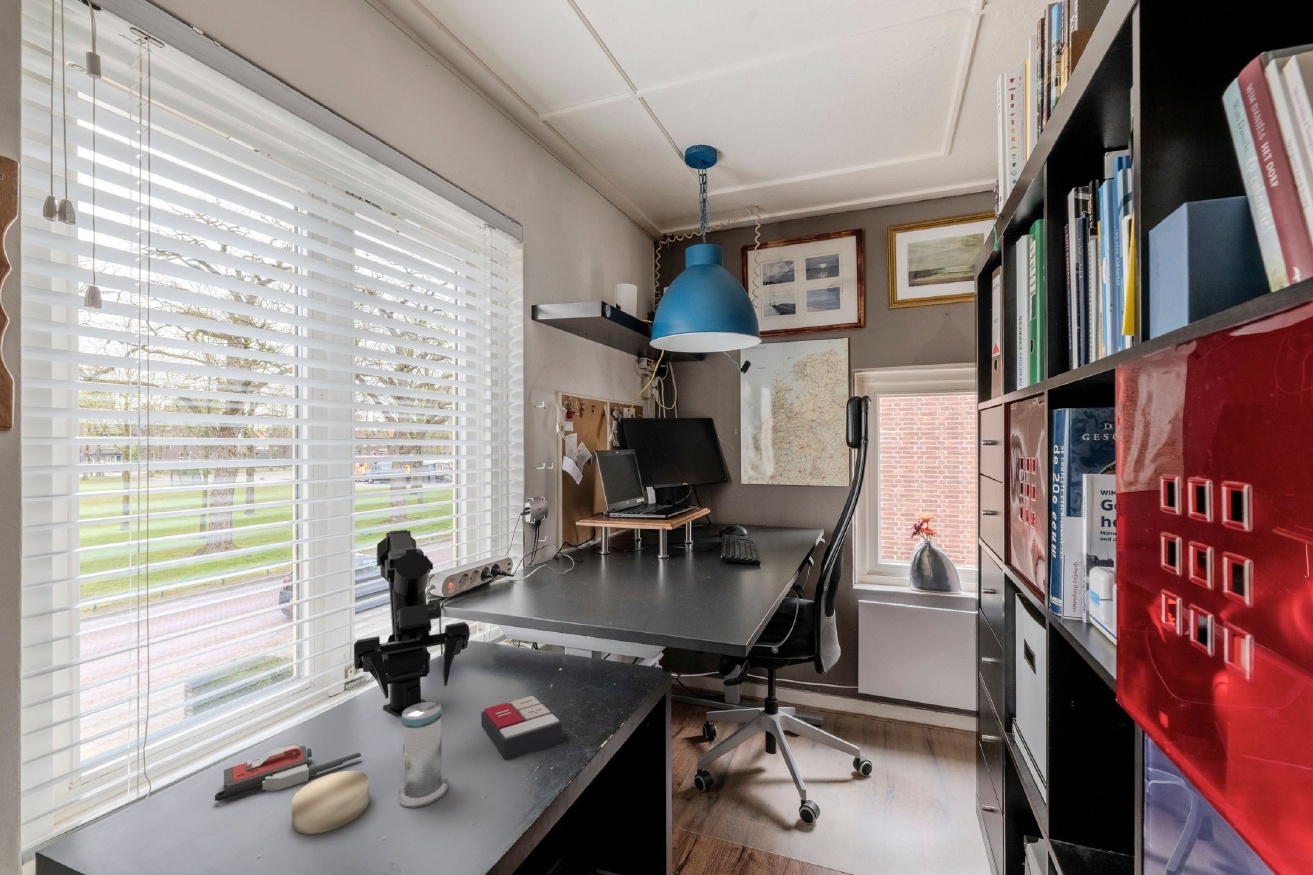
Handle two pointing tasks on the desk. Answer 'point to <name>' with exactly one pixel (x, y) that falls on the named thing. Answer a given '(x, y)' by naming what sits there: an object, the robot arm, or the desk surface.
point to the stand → (330, 802)
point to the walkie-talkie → (273, 772)
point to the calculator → (521, 727)
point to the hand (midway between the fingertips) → (417, 690)
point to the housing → (422, 756)
